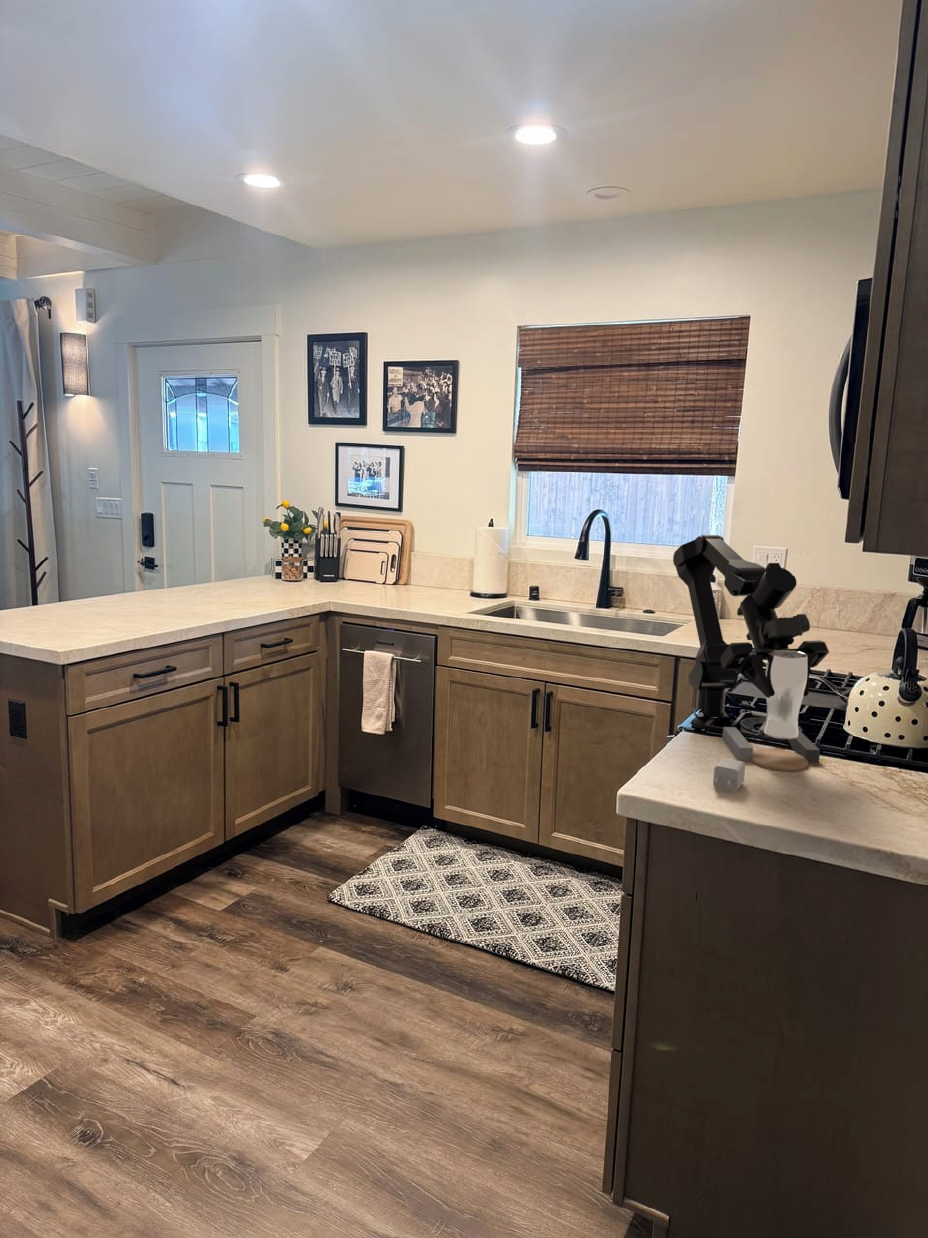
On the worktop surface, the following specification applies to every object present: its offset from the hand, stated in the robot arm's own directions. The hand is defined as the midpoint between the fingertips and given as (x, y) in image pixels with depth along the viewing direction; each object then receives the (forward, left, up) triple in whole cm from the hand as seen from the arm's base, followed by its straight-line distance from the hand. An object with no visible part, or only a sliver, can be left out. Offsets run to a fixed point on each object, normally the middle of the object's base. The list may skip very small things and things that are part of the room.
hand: (788, 696), depth 148 cm
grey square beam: (-7, -6, -13) cm, 16 cm away
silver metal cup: (-1, 0, -8) cm, 8 cm away
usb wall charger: (+13, -13, -13) cm, 22 cm away
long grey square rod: (-7, +6, -13) cm, 16 cm away
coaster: (-1, 0, -13) cm, 13 cm away
